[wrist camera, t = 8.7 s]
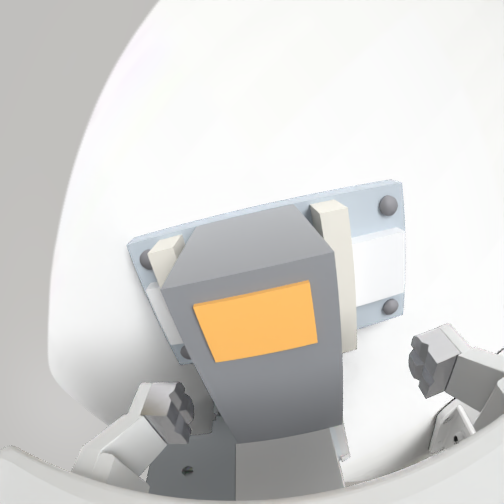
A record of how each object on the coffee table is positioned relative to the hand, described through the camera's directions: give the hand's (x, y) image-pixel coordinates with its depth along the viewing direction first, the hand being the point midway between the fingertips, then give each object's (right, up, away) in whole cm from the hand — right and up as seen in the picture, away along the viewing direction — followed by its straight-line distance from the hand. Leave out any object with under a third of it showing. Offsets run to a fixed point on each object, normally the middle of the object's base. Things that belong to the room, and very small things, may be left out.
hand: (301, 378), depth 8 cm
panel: (0, +3, +6) cm, 7 cm away
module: (-1, +2, +5) cm, 6 cm away
